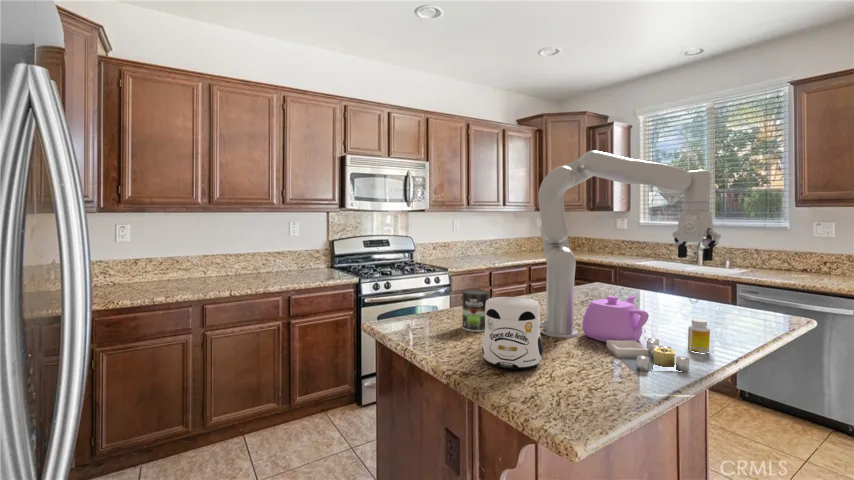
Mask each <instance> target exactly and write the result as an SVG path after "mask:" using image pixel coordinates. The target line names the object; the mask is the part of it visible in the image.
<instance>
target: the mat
mask: <svg viewBox="0 0 854 480" xmlns="http://www.w3.org/2000/svg"><path fill="white" fill-rule="evenodd" d="M614 356H615V357H617V356H616V355H614ZM617 359H619V360H620V361H621V362H622V363H623V364H624V365H625V366H626V367H628V368H629V370H631V371H632V372H639V371H638V370H637V369H636V364H637V357H617ZM653 365H654V359H651V354H649V371H651V372H652V370H653ZM651 369H652V370H651ZM649 371H648V372H649ZM648 372H647V373H648Z"/></svg>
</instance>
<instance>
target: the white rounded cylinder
mask: <svg viewBox="0 0 854 480" xmlns="http://www.w3.org/2000/svg"><path fill="white" fill-rule="evenodd" d="M540 306H541V305H540V302H538V301H537V300H535V299H531V298H527V297H518V296H497V297H491V298H489V299H488V300H486V305H485V331H483V332H484V333H483V336H482V340H481V351H482V356H483V359H484V360H485V361H486V362H488V363H489V364H491V365H492V366H494V367H498V368H502V369H509V370H525V369H530V368H533V367H535V366H537V365H539V364H540V362H541V360H542V357H543V354H544V353H543V351H544V348H543V347H544V346H543V341H542V337H541V332H540V329H541V328H540V322H541V317H540V315H541V309H540V308H541V307H540Z"/></svg>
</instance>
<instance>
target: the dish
mask: <svg viewBox="0 0 854 480" xmlns="http://www.w3.org/2000/svg"><path fill="white" fill-rule="evenodd" d="M606 349H607V350H608V351H610V352H611V353H612V354H613V355H614V356H615V355H616V356H615V357H616V358H618V357H637V356H646V357H649V350H648V349H647V347H646V346H644V345H643V344H641V343H639V342H638V340H637V341H631V340H607V342H606Z"/></svg>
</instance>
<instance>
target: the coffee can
mask: <svg viewBox="0 0 854 480" xmlns="http://www.w3.org/2000/svg"><path fill="white" fill-rule="evenodd" d="M461 293H462V317H461V318H462V320H461V322H462V325H461V326H462V327H461V328H462V329H463V330H464V331H466V332H472V333H473V332H475V333H483V332H485V305H486V300H488V299H490V293H491V292H490V291H489V290H485V289H465V290H463V291H462V292H461Z"/></svg>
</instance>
